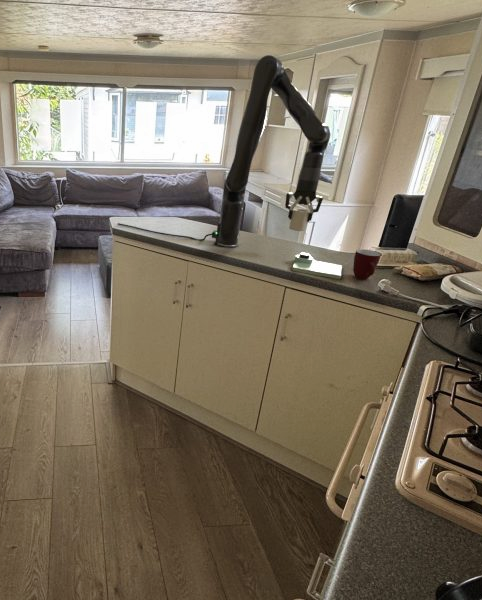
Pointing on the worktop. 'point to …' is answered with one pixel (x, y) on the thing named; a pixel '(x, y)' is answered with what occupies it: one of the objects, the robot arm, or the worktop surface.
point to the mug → (365, 263)
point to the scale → (317, 267)
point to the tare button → (304, 255)
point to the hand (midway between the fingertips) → (299, 220)
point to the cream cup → (299, 219)
